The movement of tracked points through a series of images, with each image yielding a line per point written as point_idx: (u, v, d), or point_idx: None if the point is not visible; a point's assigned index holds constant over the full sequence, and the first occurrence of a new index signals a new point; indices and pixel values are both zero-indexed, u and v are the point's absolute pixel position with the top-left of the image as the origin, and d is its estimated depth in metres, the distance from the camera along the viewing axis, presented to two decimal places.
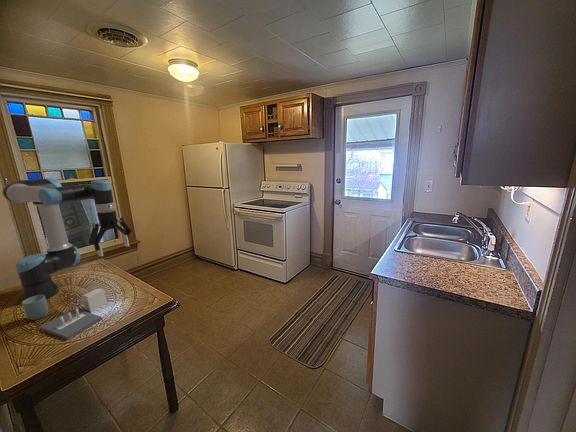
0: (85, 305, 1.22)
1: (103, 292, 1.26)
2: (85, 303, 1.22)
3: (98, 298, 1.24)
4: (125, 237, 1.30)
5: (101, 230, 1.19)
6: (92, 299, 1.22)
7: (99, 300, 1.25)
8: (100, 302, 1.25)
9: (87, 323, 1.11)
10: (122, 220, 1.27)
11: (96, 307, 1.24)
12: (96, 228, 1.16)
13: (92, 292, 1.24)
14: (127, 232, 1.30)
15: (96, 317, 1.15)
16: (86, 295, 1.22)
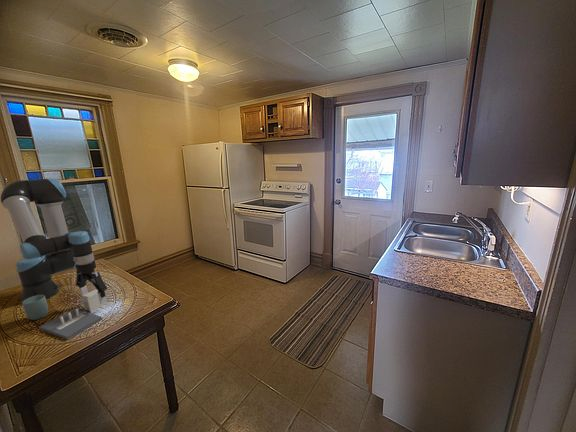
0: (85, 305, 1.22)
1: None
2: (85, 303, 1.22)
3: (98, 298, 1.24)
4: None
5: None
6: (92, 299, 1.22)
7: None
8: None
9: (87, 323, 1.11)
10: (93, 276, 1.18)
11: (96, 307, 1.24)
12: (77, 274, 1.23)
13: (92, 292, 1.24)
14: (98, 290, 1.19)
15: (96, 317, 1.15)
16: (86, 295, 1.22)
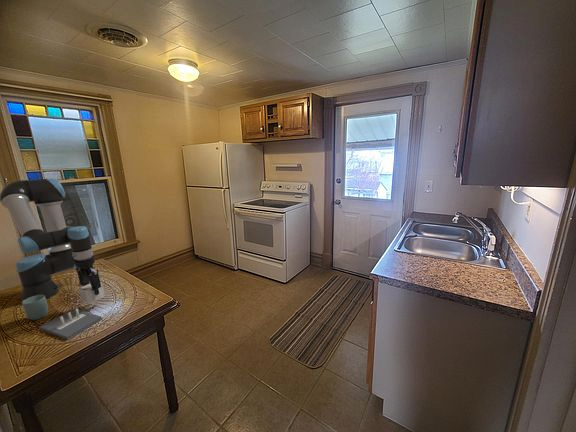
0: (83, 297, 1.22)
1: (101, 285, 1.26)
2: (83, 295, 1.22)
3: None
4: None
5: None
6: (90, 291, 1.21)
7: None
8: None
9: (87, 323, 1.11)
10: (92, 274, 1.18)
11: None
12: (77, 271, 1.22)
13: (90, 284, 1.24)
14: (93, 288, 1.21)
15: (96, 317, 1.15)
16: (84, 287, 1.21)
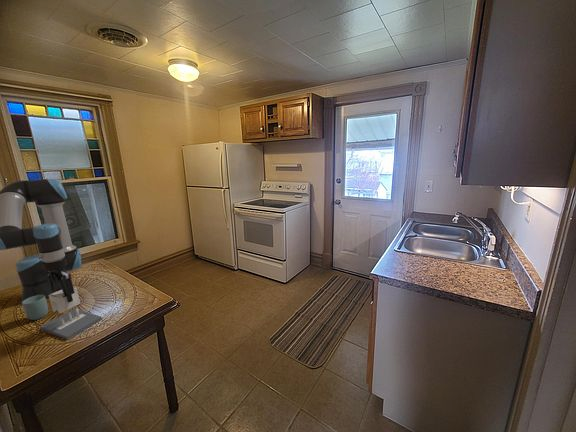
0: (54, 305, 1.07)
1: (75, 290, 1.11)
2: (54, 303, 1.07)
3: None
4: None
5: None
6: (61, 298, 1.06)
7: None
8: None
9: (87, 323, 1.11)
10: (63, 278, 1.03)
11: None
12: (47, 276, 1.08)
13: None
14: (65, 294, 1.06)
15: (96, 317, 1.15)
16: (55, 294, 1.06)
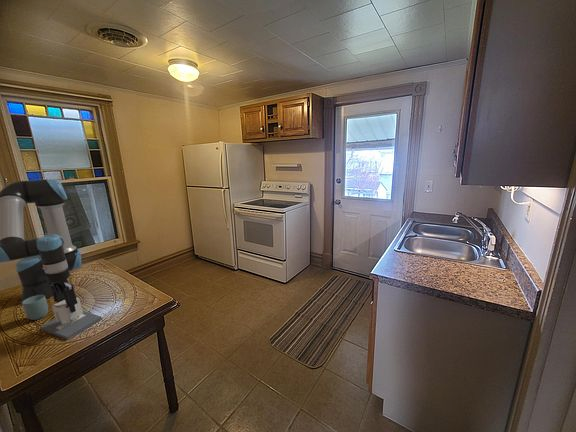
0: (57, 316, 1.08)
1: (78, 301, 1.12)
2: (57, 313, 1.08)
3: None
4: None
5: None
6: (64, 309, 1.07)
7: None
8: None
9: (87, 323, 1.11)
10: (66, 289, 1.05)
11: (69, 318, 1.09)
12: (50, 286, 1.09)
13: None
14: (68, 304, 1.07)
15: (96, 317, 1.15)
16: (58, 304, 1.07)
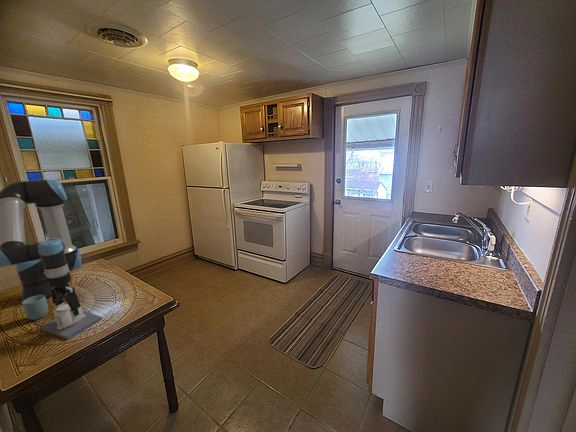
0: (58, 320, 1.09)
1: None
2: (58, 318, 1.09)
3: None
4: None
5: None
6: (66, 313, 1.08)
7: None
8: None
9: (87, 323, 1.11)
10: (67, 292, 1.05)
11: (71, 322, 1.10)
12: (51, 289, 1.09)
13: (66, 305, 1.11)
14: (71, 308, 1.07)
15: (96, 317, 1.15)
16: (59, 309, 1.08)
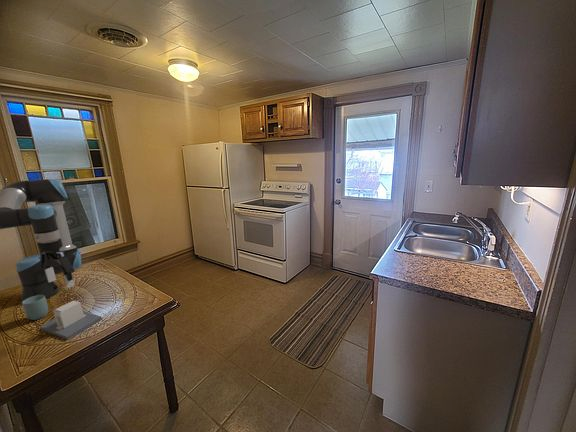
0: (58, 320, 1.09)
1: (79, 305, 1.13)
2: (58, 318, 1.09)
3: (73, 312, 1.11)
4: None
5: None
6: (66, 313, 1.08)
7: (74, 314, 1.11)
8: (76, 316, 1.12)
9: (87, 323, 1.11)
10: (58, 256, 1.03)
11: (71, 322, 1.10)
12: (41, 253, 1.08)
13: (66, 305, 1.11)
14: (64, 272, 1.05)
15: (96, 317, 1.15)
16: (59, 309, 1.08)
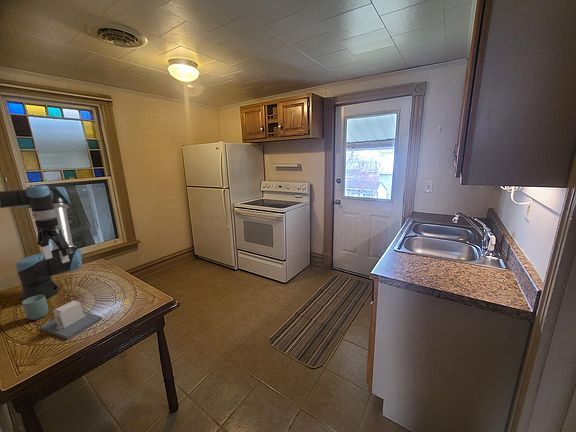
0: (58, 320, 1.09)
1: (79, 305, 1.13)
2: (58, 318, 1.09)
3: (73, 312, 1.11)
4: None
5: None
6: (66, 313, 1.08)
7: (74, 314, 1.11)
8: (76, 316, 1.12)
9: (87, 323, 1.11)
10: (54, 233, 1.12)
11: (71, 322, 1.10)
12: (38, 232, 1.17)
13: (66, 305, 1.11)
14: (60, 248, 1.13)
15: (96, 317, 1.15)
16: (59, 309, 1.08)
